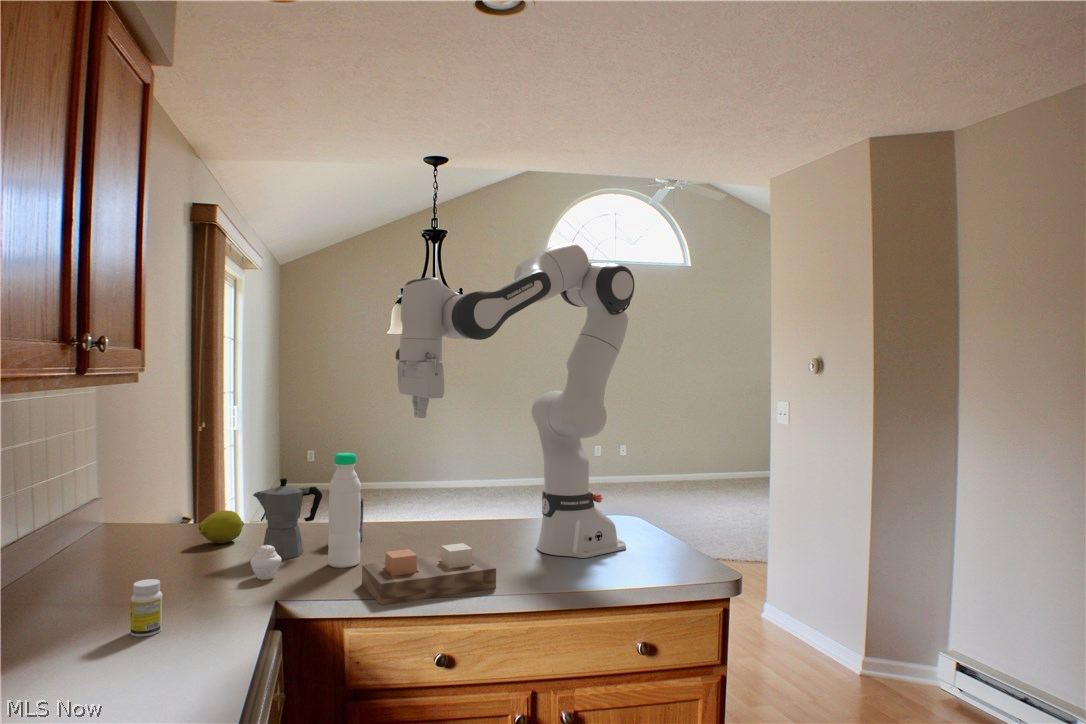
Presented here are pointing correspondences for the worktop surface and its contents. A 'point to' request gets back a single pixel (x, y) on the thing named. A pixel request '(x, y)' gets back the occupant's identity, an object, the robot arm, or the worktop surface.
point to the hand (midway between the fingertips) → (420, 417)
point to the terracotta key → (400, 562)
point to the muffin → (266, 562)
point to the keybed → (427, 580)
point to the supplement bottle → (146, 608)
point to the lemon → (221, 526)
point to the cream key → (456, 555)
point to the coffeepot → (286, 516)
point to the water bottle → (344, 513)
